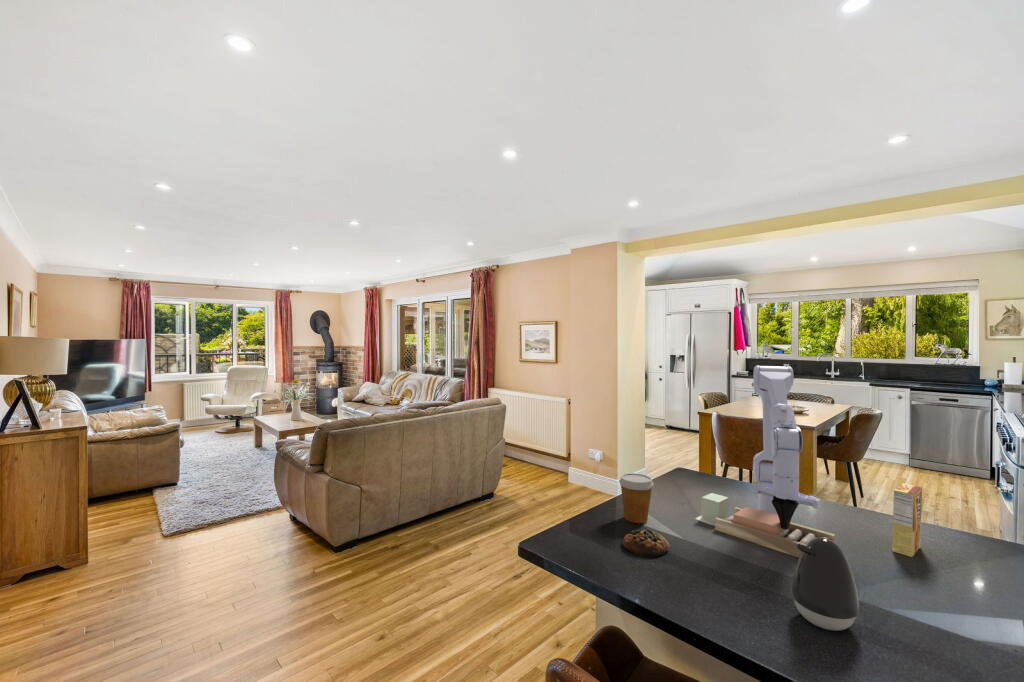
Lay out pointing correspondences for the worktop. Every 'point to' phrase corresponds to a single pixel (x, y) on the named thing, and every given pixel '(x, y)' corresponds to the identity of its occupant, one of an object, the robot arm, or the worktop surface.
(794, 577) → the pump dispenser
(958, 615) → the worktop surface
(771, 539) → the roller bed
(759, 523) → the slab
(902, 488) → the candy box
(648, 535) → the bread roll
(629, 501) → the disposable coffee cup
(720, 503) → the block
